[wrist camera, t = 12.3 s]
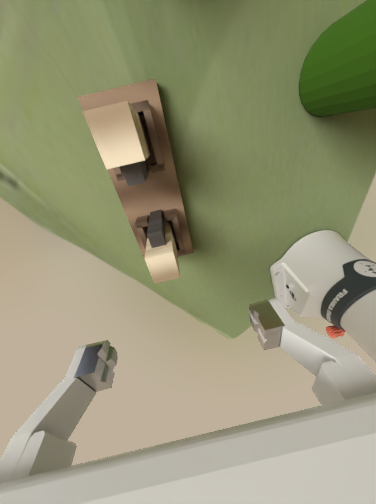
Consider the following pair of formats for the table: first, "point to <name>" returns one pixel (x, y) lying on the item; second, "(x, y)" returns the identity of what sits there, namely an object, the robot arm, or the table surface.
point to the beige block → (161, 249)
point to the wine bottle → (342, 65)
